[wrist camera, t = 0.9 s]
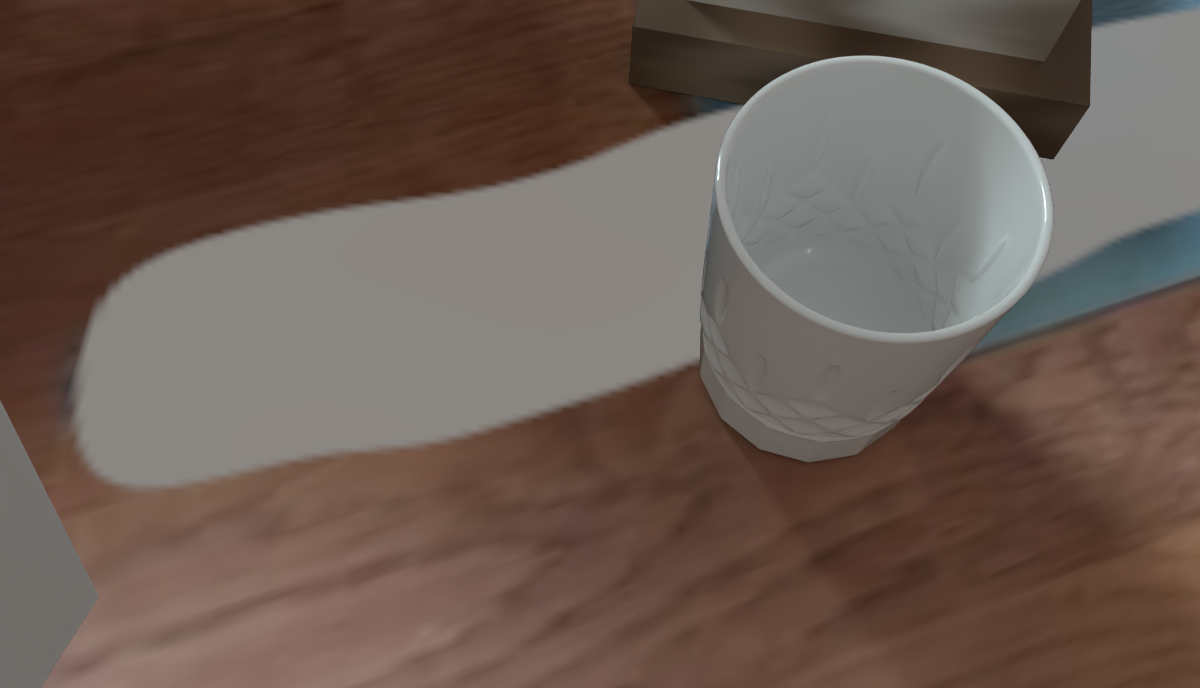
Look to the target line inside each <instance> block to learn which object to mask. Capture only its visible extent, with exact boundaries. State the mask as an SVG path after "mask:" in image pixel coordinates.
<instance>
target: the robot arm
mask: <svg viewBox="0 0 1200 688" xmlns="http://www.w3.org/2000/svg"><path fill="white" fill-rule="evenodd" d="M98 597H99V596H98V594H97V592H96V590H95V588H94V586H93V584H92V582H91V580H90V578H89V576H88V574H87V572H86V570H85V568H84V566H83V564H82V562H81V560H80V558H79V556H78V554H77V552H76V550H75V548H74V546H73V544H72V542H71V540H70V538H69V536H68V534H67V532H66V530H65V528H64V526H63V524H62V522H61V520H60V518H59V516H58V514H57V512H56V510H55V508H54V506H53V504H52V502H51V500H50V498H49V496H48V494H47V492H46V490H45V488H44V486H43V484H42V482H41V480H40V478H39V476H38V474H37V472H36V470H35V468H34V466H33V464H32V462H31V460H30V458H29V456H28V454H27V452H26V450H25V448H24V446H23V444H22V442H21V440H20V438H19V436H18V434H17V432H16V430H15V428H14V426H13V424H12V422H11V420H10V418H9V416H8V415H7V413H6V411H5V409H4V407H3V405H2V403H1V401H0V688H41V686H42V685H43V683H44V682H45V680H46V678H47V677H48V675H49V674H50V672H51V671H52V669H53V668H54V666H55V664H56V663H57V661H58V660H59V658H60V657H61V655H62V653H63V652H64V650H65V649H66V647H67V646H68V644H69V643H70V641H71V639H72V638H73V636H74V635H75V633H76V632H77V630H78V629H79V627H80V625H81V624H82V622H83V621H84V619H85V618H86V616H87V614H88V613H89V611H90V610H91V608H92V607H93V605H94V604H95V602H96V600H97V599H98Z"/></svg>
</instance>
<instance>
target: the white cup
mask: <svg viewBox="0 0 1200 688" xmlns="http://www.w3.org/2000/svg"><path fill="white" fill-rule="evenodd" d="M1053 224H1054V210H1053V200H1052V193H1051V189H1050V184H1049V181H1048V178H1047V175H1046V172H1045V169H1044V167H1043V164H1042V162H1041V160H1040V158H1039V156H1038V154H1037V152H1036V150H1035V149H1034V147H1033V145H1032V144H1031V142H1030V141H1029V139H1028V138H1027V136H1026V135H1025V133H1024V132H1023V131H1022V130H1021V128H1020V127H1019V126H1018V125H1017V123H1016V122H1015V121H1014V120H1013V119H1012V118H1011V117H1010V116H1009V115H1008V114H1007V113H1006V112H1005V111H1004V110H1003V109H1002V108H1001V107H1000V106H999V105H997V104H996V103H995V102H994V101H993V100H991V99H990V98H989V97H987V96H986V95H985V94H983V93H982V92H980V91H979V90H977V89H976V88H974V87H973V86H971V85H969V84H968V83H966V82H964V81H962V80H960V79H958V78H957V77H954V76H952V75H950V74H948V73H946V72H943V71H941V70H938V69H936V68H933V67H930V66H927V65H924V64H920V63H917V62H913V61H909V60H904V59H898V58H892V57H883V56H846V57H837V58H831V59H826V60H821V61H817V62H814V63H810V64H807V65H804V66H801V67H799V68H796V69H794V70H792V71H790V72H787V73H785V74H783V75H782V76H780V77H778V78H776V79H775V80H773V81H772V82H770V83H769V84H767V85H766V86H764V87H763V88H762V89H760V90H759V91H758V92H757V93H756V94H755V95H754V96H752V97H751V98H750V99H749V100H748V101H747V103H746V104H745V105H744V106H743V107H742V108H741V110H740V111H739V112H738V114H737V115H736V116H735V118H734V119H733V121H732V123H731V124H730V126H729V128H728V130H727V132H726V134H725V136H724V138H723V141H722V144H721V147H720V150H719V154H718V158H717V163H716V171H715V180H714V188H713V196H712V205H711V213H710V221H709V229H708V237H707V244H706V253H705V259H704V268H703V278H702V290H701V296H702V298H701V308H700V321H701V338H700V340H701V342H700V377H701V379H702V381H703V383H704V385H705V387H706V389H707V391H708V393H709V396H710V398H711V400H712V402H713V404H714V406H715V408H716V410H717V412H718V414H719V416H720V418H721V419H722V420H723V421H725V422H726V423H727V424H728V425H730V426H731V427H732V428H733V429H735V430H736V431H737V432H738V433H740V434H741V435H742V436H743V437H745V438H746V439H747V440H748V441H750V442H751V443H752V444H753V445H754V446H756V447H757V448H758V449H760V450H763V451H767V452H771V453H775V454H778V455H782V456H786V457H789V458H793V459H797V460H800V461H804V462H815V461H821V460H827V459H833V458H840V457H846V456H852V455H857V454H858V453H860V452H861V451H862V450H864V449H865V448H867V447H868V446H869V445H871V444H872V443H873V442H875V441H876V440H878V439H879V438H880V437H882V436H883V435H884V434H886V433H887V432H889V431H890V430H891V429H893V428H894V427H895V426H896V425H897V424H898V423H899V422H900V421H901V419H902V418H904V417H905V416H906V415H908V414H909V413H910V412H911V411H912V410H914V409H915V408H916V407H917V406H918V405H919V404H920V403H921V402H922V401H923V400H924V399H925V398H926V397H927V396H928V395H929V394H930V393H931V392H932V391H933V390H934V389H935V388H936V387H937V386H938V385H939V384H940V383H941V382H942V381H943V380H944V379H945V378H946V377H947V376H949V375H950V374H951V373H952V372H953V371H954V369H955V368H956V367H957V366H958V365H959V364H960V363H961V362H962V361H963V360H964V359H965V358H966V356H967V355H968V354H969V353H970V352H971V351H972V350H973V349H974V348H975V347H976V346H977V345H978V343H979V342H980V341H981V340H982V339H983V338H984V337H985V336H986V335H987V334H988V333H989V331H990V330H991V329H992V328H993V327H994V326H995V325H996V324H997V323H998V322H999V321H1000V320H1001V319H1002V318H1003V316H1004V315H1005V314H1006V313H1007V312H1008V311H1009V310H1010V309H1011V308H1012V307H1013V306H1014V305H1015V304H1016V303H1017V302H1018V301H1019V300H1020V298H1021V297H1022V296H1023V295H1024V294H1025V293H1026V292H1027V290H1028V289H1029V288H1030V287H1031V285H1032V284H1033V282H1034V281H1035V279H1036V278H1037V276H1038V274H1039V273H1040V271H1041V269H1042V267H1043V264H1044V262H1045V260H1046V257H1047V254H1048V251H1049V248H1050V244H1051V239H1052V233H1053Z"/></svg>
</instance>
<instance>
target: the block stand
mask: <svg viewBox="0 0 1200 688" xmlns="http://www.w3.org/2000/svg"><path fill="white" fill-rule="evenodd" d="M1091 25H1092V0H639V3H638V7H637V11H636V15H635V19H634V23H633V31H632V46H631V61H630V76H629V84H632V85H637V86H643V87H649V88H654V89H660V90H666V91H671V92H677V93H682V94H688V95H694V96H699V97H705V98H710V99H716V100H722V101H727V102H733V103H738V104H744V105H745V104H746V103H747V101H748V100H749V99H750V98H751V97H752V96H754V95H755V94H756V93H757V92H758V91H759V90H760V89H762V88H763V87H764V86H766V85H767V84H769V83H770V82H772V81H773V80H775V79H776V78H778V77H780V76H782V75H783V74H785V73H787V72H790V71H792V70H794V69H796V68H799V67H801V66H804V65H807V64H810V63H814V62H817V61H821V60H826V59H831V58H837V57H846V56H883V57H892V58H898V59H904V60H909V61H913V62H917V63H920V64H924V65H927V66H930V67H933V68H936V69H938V70H941V71H943V72H946V73H948V74H950V75H952V76H954V77H957V78H958V79H960V80H962V81H964V82H966V83H968V84H969V85H971V86H973V87H974V88H976V89H977V90H979V91H980V92H982V93H983V94H985V95H986V96H987V97H989V98H990V99H991V100H993V101H994V102H995V103H996V104H997V105H999V106H1000V107H1001V108H1002V109H1003V110H1004V111H1005V112H1006V113H1007V114H1008V115H1009V116H1010V117H1011V118H1012V119H1013V120H1014V121H1015V122H1016V123H1017V125H1018V126H1019V127H1020V128H1021V130H1022V131H1023V132H1024V133H1025V135H1026V136H1027V138H1028V139H1029V141H1030V142H1031V144H1032V145H1033V147H1034V149H1035V150H1036V152H1037V154H1038V156H1039V157H1042V158H1048V159H1054V158H1055V156H1056V155H1057V153H1058V152H1059V150H1060V149H1061V147H1062V146H1063V144H1064V143H1065V142H1066V140H1067V138H1068V137H1069V135H1070V134H1071V133H1072V131H1073V130H1074V128H1075V127H1076V125H1077V124H1078V123H1079V121H1080V119H1081V118H1082V117H1083V115H1084V114H1085V112H1086V111H1087V109H1088V108H1089V106H1090V74H1091V71H1090V70H1091V69H1090V68H1091Z"/></svg>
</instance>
